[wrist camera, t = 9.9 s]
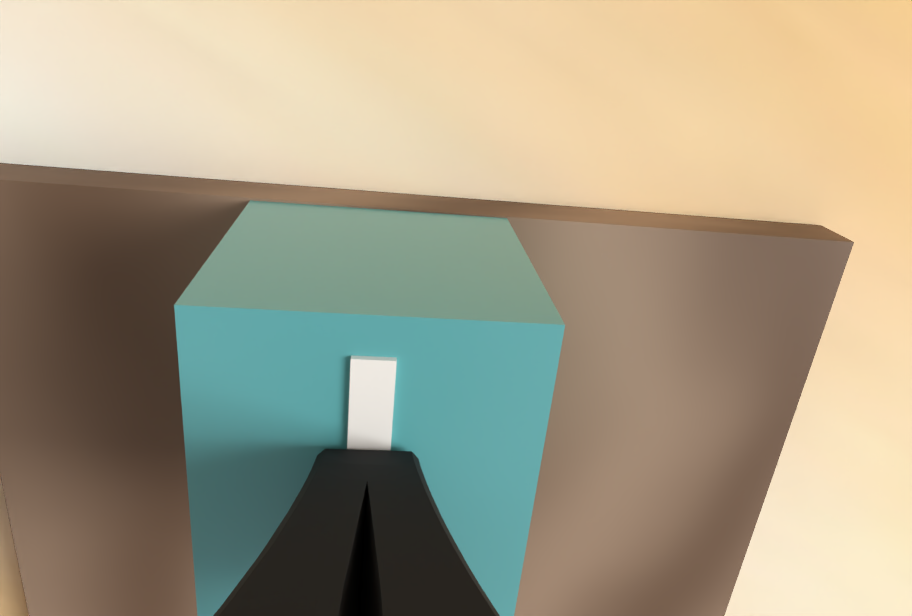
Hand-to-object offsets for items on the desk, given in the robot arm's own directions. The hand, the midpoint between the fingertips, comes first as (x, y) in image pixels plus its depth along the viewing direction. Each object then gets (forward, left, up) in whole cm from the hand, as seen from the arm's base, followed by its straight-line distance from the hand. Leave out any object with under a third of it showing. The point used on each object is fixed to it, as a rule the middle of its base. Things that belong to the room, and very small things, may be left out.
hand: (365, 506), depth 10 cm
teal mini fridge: (0, 0, -5) cm, 5 cm away
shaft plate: (+1, -5, -6) cm, 8 cm away
